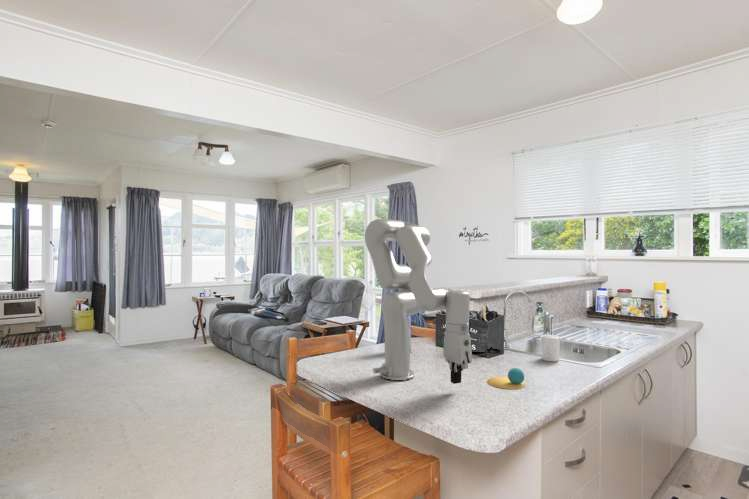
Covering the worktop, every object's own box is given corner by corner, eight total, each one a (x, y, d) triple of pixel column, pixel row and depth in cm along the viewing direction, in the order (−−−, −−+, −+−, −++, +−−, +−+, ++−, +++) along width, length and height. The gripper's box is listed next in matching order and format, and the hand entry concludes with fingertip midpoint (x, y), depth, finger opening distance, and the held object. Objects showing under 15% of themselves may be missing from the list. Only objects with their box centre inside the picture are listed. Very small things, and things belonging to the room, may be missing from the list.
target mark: (505, 391, 138) (505, 390, 138) (479, 380, 150) (479, 380, 150) (533, 385, 144) (533, 384, 144) (506, 375, 156) (506, 375, 156)
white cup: (548, 362, 173) (548, 338, 174) (536, 357, 181) (536, 335, 181) (564, 361, 176) (564, 337, 176) (551, 356, 183) (551, 333, 183)
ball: (527, 369, 144) (528, 385, 144) (517, 365, 149) (518, 380, 149) (513, 371, 143) (514, 387, 143) (504, 367, 148) (505, 382, 148)
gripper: (481, 331, 133) (479, 388, 133) (452, 322, 146) (451, 374, 147) (462, 333, 130) (461, 391, 130) (434, 324, 143) (433, 377, 143)
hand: (455, 382), depth 138 cm, fingers closed
